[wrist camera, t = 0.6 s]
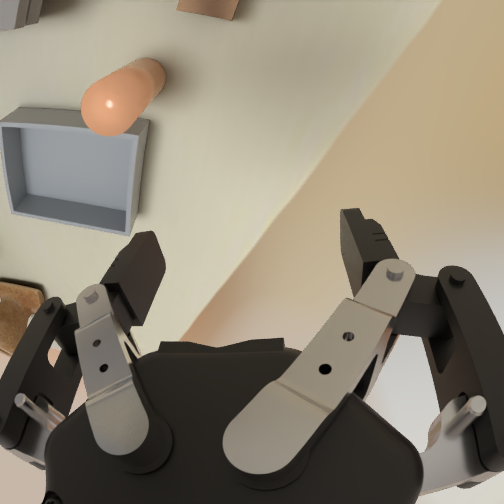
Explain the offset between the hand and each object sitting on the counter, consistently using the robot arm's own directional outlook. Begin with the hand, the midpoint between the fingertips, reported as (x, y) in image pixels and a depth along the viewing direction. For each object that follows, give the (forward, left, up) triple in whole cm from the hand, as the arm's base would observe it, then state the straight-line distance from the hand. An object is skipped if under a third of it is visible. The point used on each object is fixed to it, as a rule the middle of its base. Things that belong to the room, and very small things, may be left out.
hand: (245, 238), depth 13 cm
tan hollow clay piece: (-37, -48, -24) cm, 65 cm away
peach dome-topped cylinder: (-11, 0, -24) cm, 26 cm away
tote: (-19, -12, -24) cm, 33 cm away
